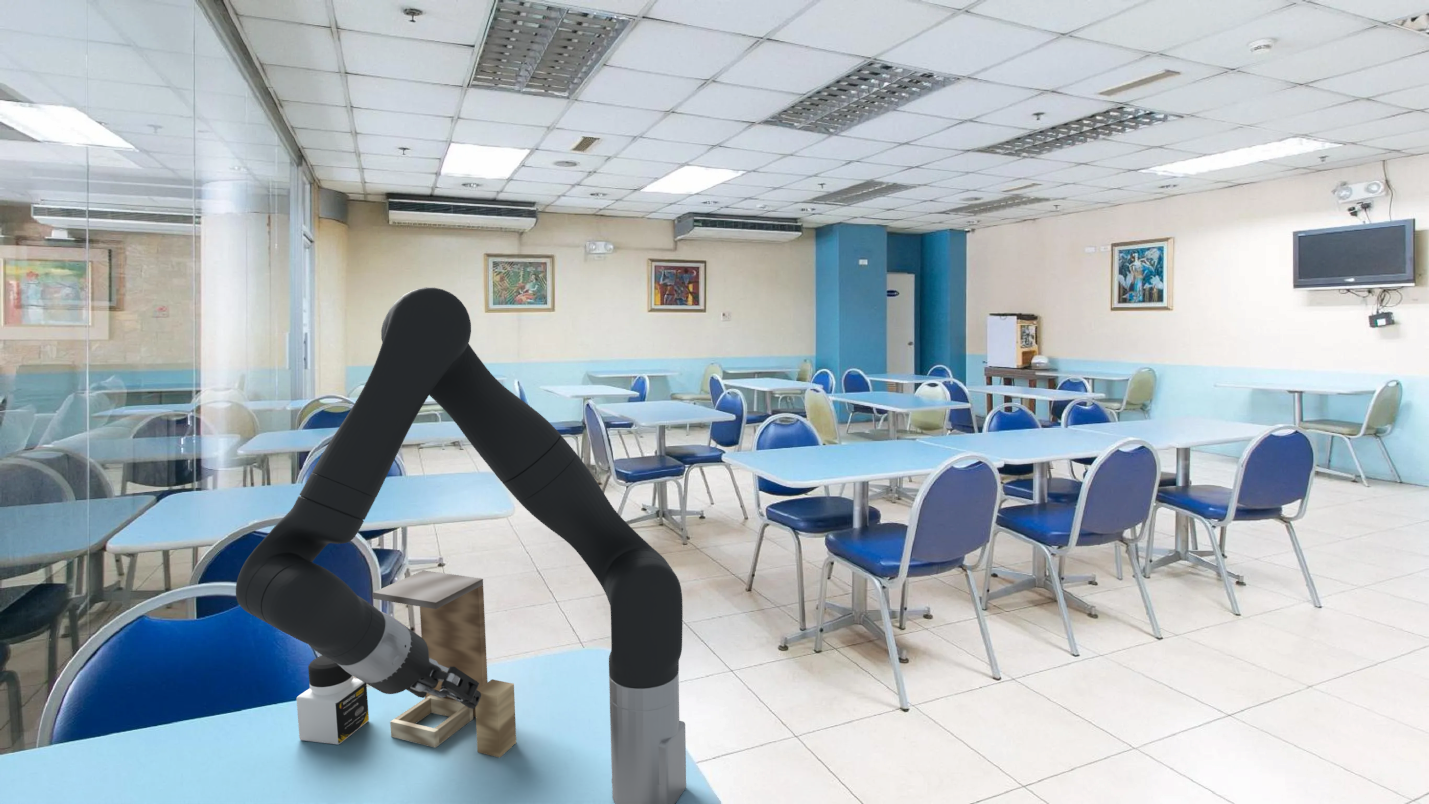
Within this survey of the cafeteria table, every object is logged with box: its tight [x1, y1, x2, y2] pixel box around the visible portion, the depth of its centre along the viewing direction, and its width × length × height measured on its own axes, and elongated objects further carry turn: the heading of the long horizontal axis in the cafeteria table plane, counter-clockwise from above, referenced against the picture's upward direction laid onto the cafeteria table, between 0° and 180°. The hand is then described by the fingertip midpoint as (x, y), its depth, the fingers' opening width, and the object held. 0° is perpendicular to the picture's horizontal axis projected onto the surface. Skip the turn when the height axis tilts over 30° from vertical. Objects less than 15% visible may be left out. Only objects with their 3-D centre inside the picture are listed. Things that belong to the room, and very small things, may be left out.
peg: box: [475, 679, 517, 758], centre depth 111 cm, size 4×4×10 cm
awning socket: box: [372, 570, 489, 749], centre depth 116 cm, size 12×11×23 cm
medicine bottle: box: [296, 655, 370, 745], centre depth 116 cm, size 7×7×12 cm
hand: (450, 695), depth 101 cm, fingers open, 8 cm apart
